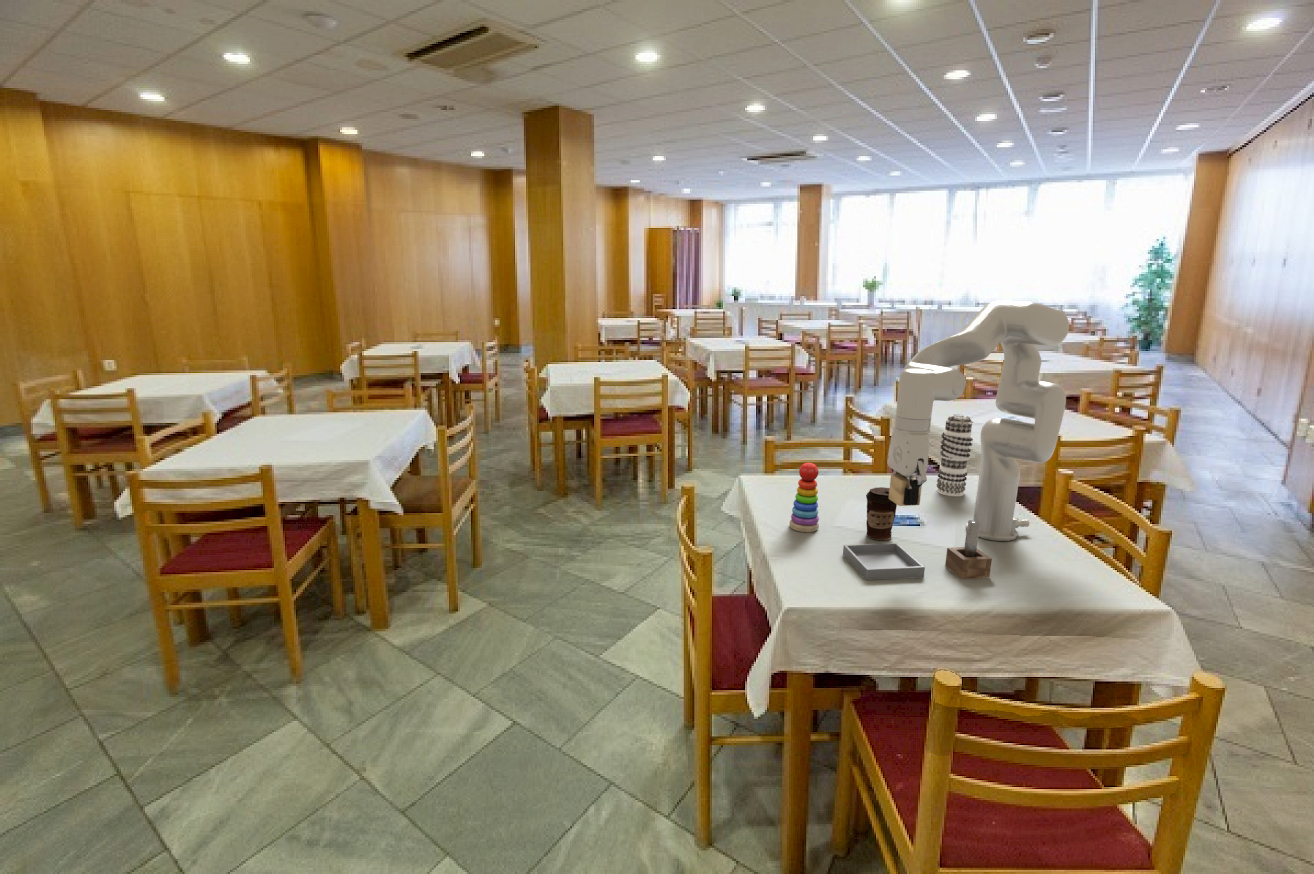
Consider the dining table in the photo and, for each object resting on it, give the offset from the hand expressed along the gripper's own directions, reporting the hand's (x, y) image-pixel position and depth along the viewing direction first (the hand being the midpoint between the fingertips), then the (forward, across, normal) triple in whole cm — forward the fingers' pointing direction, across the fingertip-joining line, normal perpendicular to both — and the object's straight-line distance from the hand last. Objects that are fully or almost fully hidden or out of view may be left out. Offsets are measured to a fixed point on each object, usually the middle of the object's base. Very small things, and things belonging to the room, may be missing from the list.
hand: (904, 499), depth 154 cm
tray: (+18, -2, -2) cm, 18 cm away
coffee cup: (+18, -19, +5) cm, 27 cm away
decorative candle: (+18, -51, +45) cm, 70 cm away
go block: (+18, +3, +16) cm, 24 cm away
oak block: (+1, 0, 0) cm, 1 cm away
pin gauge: (+17, +3, +16) cm, 24 cm away
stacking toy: (+18, -28, -13) cm, 35 cm away
